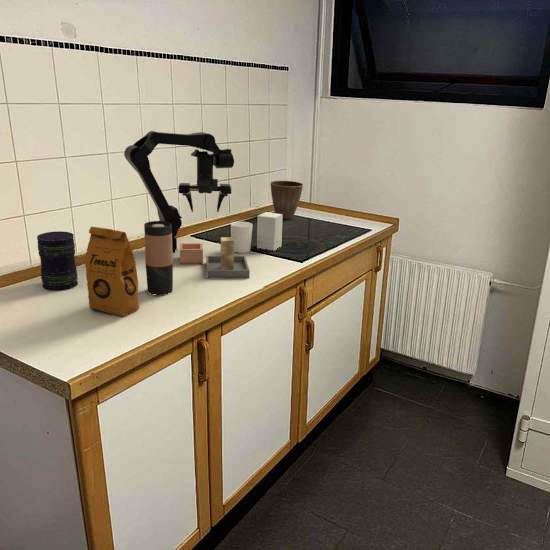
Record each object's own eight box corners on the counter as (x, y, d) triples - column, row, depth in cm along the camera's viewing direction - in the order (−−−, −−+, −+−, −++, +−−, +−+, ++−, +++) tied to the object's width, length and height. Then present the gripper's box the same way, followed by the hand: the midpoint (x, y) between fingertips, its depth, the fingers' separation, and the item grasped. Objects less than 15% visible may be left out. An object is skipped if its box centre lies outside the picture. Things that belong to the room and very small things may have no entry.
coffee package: (120, 321, 135) (115, 237, 127) (83, 311, 140) (76, 229, 132) (146, 308, 143) (142, 228, 136) (110, 298, 148) (104, 221, 141)
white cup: (253, 248, 200) (253, 222, 197) (250, 254, 193) (250, 227, 189) (232, 246, 201) (232, 220, 197) (228, 252, 193) (228, 226, 190)
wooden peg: (221, 270, 173) (221, 240, 169) (220, 266, 176) (220, 237, 173) (233, 270, 173) (234, 240, 170) (232, 266, 177) (233, 237, 174)
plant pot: (299, 214, 256) (301, 181, 251) (302, 221, 242) (304, 186, 237) (268, 213, 255) (269, 180, 250) (269, 221, 241) (271, 185, 236)
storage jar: (41, 281, 159) (36, 232, 154) (76, 277, 163) (72, 230, 158) (42, 292, 150) (36, 241, 145) (79, 289, 154) (75, 239, 149)
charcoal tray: (207, 278, 167) (207, 270, 166) (206, 262, 181) (206, 255, 180) (249, 277, 169) (249, 270, 168) (244, 262, 183) (245, 255, 182)
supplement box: (282, 246, 204) (283, 214, 199) (273, 251, 197) (275, 217, 193) (264, 243, 207) (265, 211, 202) (256, 248, 200) (257, 215, 196)
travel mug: (178, 288, 158) (176, 222, 151) (165, 297, 151) (163, 228, 144) (155, 284, 160) (153, 219, 153) (141, 293, 153) (138, 225, 146)
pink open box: (180, 264, 179) (179, 249, 177) (180, 257, 186) (180, 243, 184) (202, 263, 180) (202, 249, 178) (202, 257, 187) (202, 243, 186)
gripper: (177, 172, 182) (178, 216, 187) (232, 173, 184) (231, 217, 190) (178, 167, 192) (179, 209, 197) (230, 168, 195) (230, 210, 200)
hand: (205, 211), depth 196 cm, fingers open, 9 cm apart
